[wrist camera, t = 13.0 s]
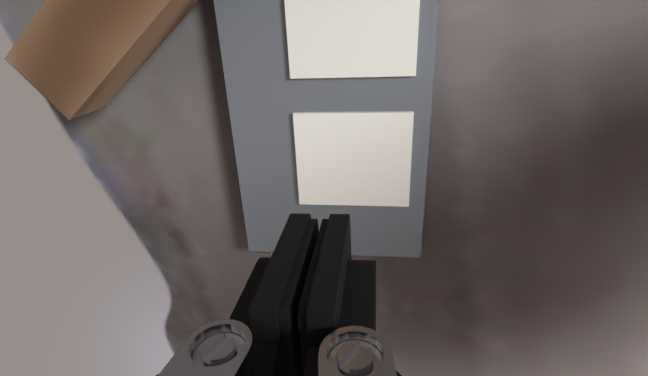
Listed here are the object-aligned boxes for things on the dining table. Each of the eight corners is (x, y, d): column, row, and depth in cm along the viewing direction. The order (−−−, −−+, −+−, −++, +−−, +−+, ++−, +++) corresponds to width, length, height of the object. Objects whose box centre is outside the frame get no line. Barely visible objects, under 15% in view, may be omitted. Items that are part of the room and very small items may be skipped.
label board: (446, -146, 19) (452, -160, 17) (418, 245, 28) (421, 260, 26) (207, -123, 20) (192, -135, 19) (254, 239, 30) (247, 253, 28)
